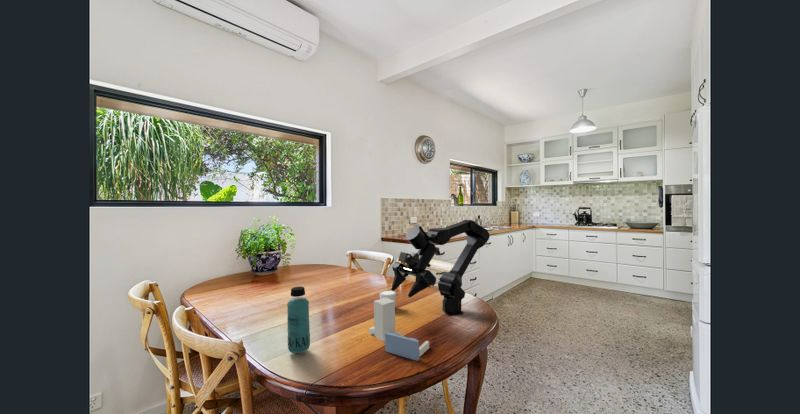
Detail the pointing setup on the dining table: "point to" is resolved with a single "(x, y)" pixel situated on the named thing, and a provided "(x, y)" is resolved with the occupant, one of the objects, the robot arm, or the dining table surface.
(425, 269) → the robot arm
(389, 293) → the shot glass
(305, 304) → the beverage bottle
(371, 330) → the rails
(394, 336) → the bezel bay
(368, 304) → the dining table surface
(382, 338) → the plug block
